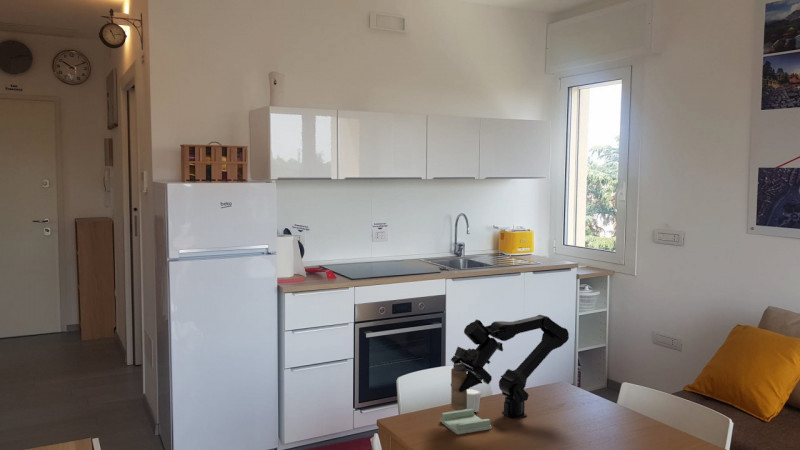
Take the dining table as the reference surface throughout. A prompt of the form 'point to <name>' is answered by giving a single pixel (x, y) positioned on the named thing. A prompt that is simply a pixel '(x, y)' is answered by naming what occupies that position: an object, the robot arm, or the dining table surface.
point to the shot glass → (473, 399)
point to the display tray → (464, 421)
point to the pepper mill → (456, 381)
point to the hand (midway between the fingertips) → (455, 388)
